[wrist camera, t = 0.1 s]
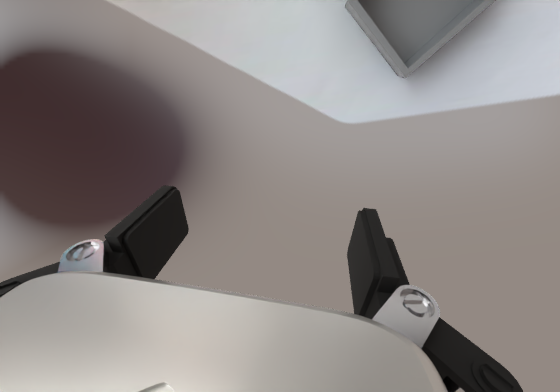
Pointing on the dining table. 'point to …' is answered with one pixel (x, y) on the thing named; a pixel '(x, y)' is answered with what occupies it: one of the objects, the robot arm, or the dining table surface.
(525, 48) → the dining table surface
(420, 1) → the box
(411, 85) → the dining table surface
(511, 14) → the dining table surface
